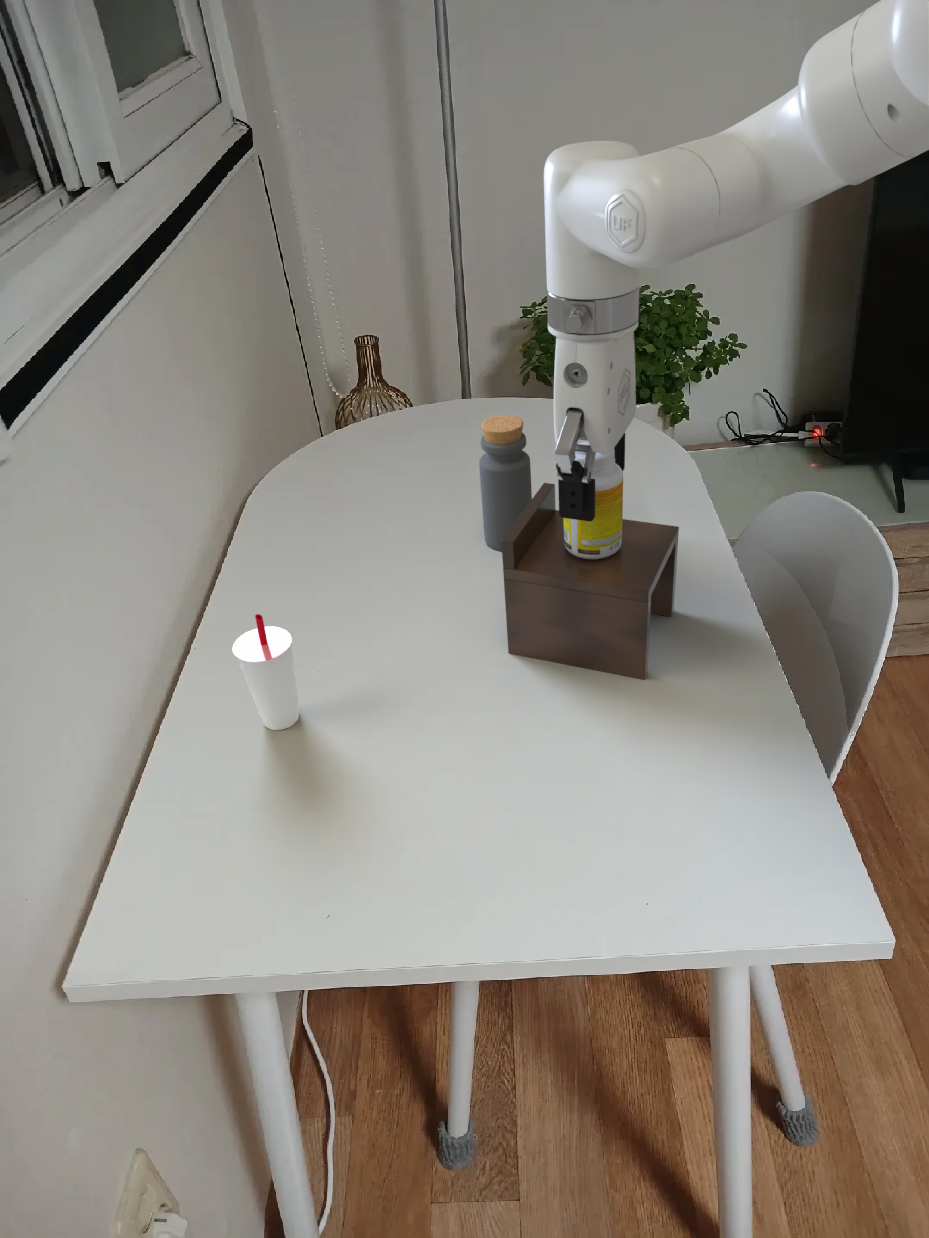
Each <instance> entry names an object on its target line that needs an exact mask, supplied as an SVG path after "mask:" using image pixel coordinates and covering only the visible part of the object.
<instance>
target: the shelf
mask: <svg viewBox="0 0 929 1238" xmlns="http://www.w3.org/2000/svg"><path fill="white" fill-rule="evenodd" d="M679 531H680V527H679V526H678V525H669V524H663V523H662V524H661V523H655V522H647V521H641V520H634V519H625V518H623V519H622V544H621V547H620V548H619V550H618V551H617V552H616V553H614V554H613V555H611V556H608V557H606V558H602V559H584V558H580V557H577V556H574V555H573V554H571V553H570V552H569V551H568V550H567V549H566V547H565V544H564V519H563V518H562V517H561V516H560V515H559V509H556V484H555V483H550V482H543V483H542V485H541V486H540V488H538V490H537V491H536V493H535V494H534V496H532V500H531V501H530V503H529V504H528V505H527V507H526V508H525V509H524V511H523V512H522V513H521V515H520V516H519V518H518V519H517V520H516V522H515V523H514V524H513V526H512V527H511V528H510V530H509V531H508V532H507V534H506V535H505V537H504V538H503V539H502V541H501V543H502V551H501V557H502V572H503V573H502V574H503V588H504V605H505V619H506V635H507V637H506V638H507V651H508V654H512V655H516V656H520V657H521V656H522V657H527V658H530V659H531V658H532V659H537V660H543V661H547V662H553V663H558V664H561V665H562V664H563V665H568V666H573V667H577V668H584V669H588V670H593V671H598V672H603V673H607V674H614V675H618V676H623V677H629V678H634V679H639V680H646V678H647V676H648V673H649V657H650V655H649V653H650V630H651V614H652V615H656V616H657V615H658V616H663V617H669V618H671V617H673V614H674V612H675V601H676V600H675V597H676V580H677V566H678V565H677V564H678V551H679V549H678V547H679Z"/></svg>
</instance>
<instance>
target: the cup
mask: <svg viewBox="0 0 929 1238" xmlns="http://www.w3.org/2000/svg"><path fill="white" fill-rule="evenodd" d="M254 618H255V623H256V628H253V629H250V630H248V631H245V632H244V633H243V634H241V635H240V636H239V637H237V638H236V640H235V641H234V642H233V644H232V647H231V648H232V654H233V655H234V656H235V658H236V660H237V663H238V665H239V667H240V670H241V672H242V675H243V677H244V679H245V682H246V684H247V687H248V690H249V692H250V695H251V697H252V699H253V702H254V704H255V706H256V709H257V713H259V716H260V719H261V721H262V723H263V725H264V726H265V728H267V729H269V730H272V731H281V730H282V731H283V730H286V729H288V728H291V727H292V726H294V725H295V724H296V723H297V722H298V720H299V716H300V712H299V701H298V691H297V682H296V681H297V680H296V672H295V663H294V654H293V646H292V644H293V635H292V634H291V632H290V631H288V630H287V629H286V628H284V627H280V626H275V625H269V626H268V625H266V626H265V622H264V617H263V615H261V614H260V613H257V614H255V615H254Z"/></svg>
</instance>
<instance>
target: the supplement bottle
mask: <svg viewBox="0 0 929 1238" xmlns="http://www.w3.org/2000/svg"><path fill="white" fill-rule="evenodd" d="M579 444H581V445H590V444H589V442H588V441H584V442H580V443H579ZM575 456H576V457H575V461H579V462H580V463H581V465H582V466H583V467H584V462H585V457H586V455H585V454H575ZM591 479H595V517H594V519H593V520H592V521H582V520H575V519H568V518H563V519H564V544H565V547H566V549H567V550H568V551H569V552H570V553H571V554H573V555H574V556H577V557H580V558H584V559H602V558H606V557H608V556H611V555H613V554H614V553H616V552H617V551H618V550H619V548H620V547H621V544H622V519H624V517H623V513H624V512H623V511H624V510H623V509H624V508H623V507H624V506H623V505H624V470H623V471H622V469H621V468H620V466H619V465H617V464H616V463H615V450H614V449H613V450H612V451H611V452H609V453H608V454H606V455H602V454H601V453H598V452H596V455H595V460H594V465H593V470H592V476H591Z"/></svg>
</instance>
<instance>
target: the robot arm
mask: <svg viewBox="0 0 929 1238" xmlns="http://www.w3.org/2000/svg"><path fill="white" fill-rule="evenodd" d="M797 81H798V82H797V85H796V86H794V87H793V88H791V90H789V91H788V92H786V93H785V94H783V95H781V96H780V97H779V98H777V99H776V100H774V101H772V102H771V103H769V104H768V105H766V106H764V107H762V108H761V109H759V110H758V111H756V112H754V113H752V114H751V115H749V116H747V117H745V118H744V119H743V120H741V121H738V122H737V123H735V124H734V125H732V126H730V127H728V128H726V129H724V130H722V131H721V132H718V133H715V134H713V135H710V136H707V137H703V138H702V137H701V138H699V139H695V140H691V141H688V142H684V143H680V144H678V145H674V146H671V147H667V148H665V149H663V150H659V151H655V152H651V153H647V154H644V155H640V153H639V151H638V150H637V148H636V147H634V145H632V144H629V143H627V142H624V141H616V140H589V141H581V142H574V143H569V144H565V145H562V146H560V147H558V148H556V149H554V150H553V151H552V152H551V153H550V154H549V155H548V157H547V158H546V160H545V163H544V168H543V201H544V203H543V204H544V206H543V207H544V236H545V239H544V240H545V269H546V271H545V272H546V307H547V310H546V311H547V330H548V332H549V334H551V335H552V336H554V337H555V348H554V349H555V351H554V372H553V431H554V433H553V434H554V440H555V442H554V443H555V445H556V446H555V450H554V456H555V460H556V464H555V467H556V468H555V470H556V471H557V472H556V479H557V483H558V485H557V487H558V510H559V515H560V516H561V517H562V518H568V519H575V520H582V521H592V520H593V519H594V517H595V479H591V476H592V470H593V465H594V460H595V455H596V452H598V453H601V454H602V455H606V454H608V453H609V452H611V451H612V450H613V449H614V450H615V463H616V464H617V465H619V466H620V468H621V469H622V471H623V472H624V470H625V466H626V431H627V429H628V428H629V426H630V425H631V424H632V421H633V420H634V418H635V414H636V410H637V390H636V389H637V387H636V385H637V382H636V347H635V333H634V332H635V331H636V330H637V328H638V327H639V317H640V312H639V311H640V310H639V309H640V276H641V275H640V274H641V273H640V271H641V270H656V269H659V268H664V267H666V266H669V265H671V264H675V263H678V262H680V261H682V260H685V259H688V258H690V257H692V256H694V255H696V254H698V253H701V252H703V251H707V250H709V249H711V248H713V247H716V246H719V245H722V244H725V243H727V242H730V241H733V240H735V239H738V238H740V237H742V236H744V235H747V234H748V233H751V232H753V231H755V230H758V229H759V228H761V227H764V226H765V225H767V224H770V223H771V222H774V221H775V220H777V219H780V218H782V217H784V216H786V215H788V214H790V213H792V212H795V211H797V210H798V209H801V208H802V207H805V206H807V205H809V204H811V203H813V202H815V201H817V200H819V199H822V198H823V197H825V196H827V195H829V194H832V193H834V192H836V191H837V190H839V189H842V188H844V187H846V186H850V185H851V186H856V185H857V186H858V185H860V184H862V183H864V182H865V181H867V180H869V179H872V178H874V177H876V176H877V175H880V174H883V173H884V172H886V171H888V170H890V169H892V168H895V167H897V166H899V165H901V164H903V163H905V162H907V161H910V160H911V159H913V158H915V157H917V156H919V155H921V154H924V153H926V152H927V151H929V0H879V1H877V2H875V3H874V4H873V5H871V6H870V7H867V8H866V9H864V10H863V11H862V12H860V13H858V14H857V15H855V16H853V17H852V18H850V19H849V20H847V21H846V22H844V23H843V24H841V25H840V26H838V27H836V28H834V29H832V30H831V31H829V32H828V33H826V34H825V35H823V36H822V37H820V38H819V39H818V40H817V41H816V42H815V43H813V45H812V46H811V47H810V49H809V50H808V51H807V53H806V54H805V56H804V59H803V61H802V63H801V67H800V70H799V74H798V79H797ZM578 441H586V442H589V444H590V445H581V444H580V443H578ZM575 454H585V455H586V457H585V462H584V467H583V466H582V465H581V463H580V462H579V461H575V457H576V456H575Z"/></svg>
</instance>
